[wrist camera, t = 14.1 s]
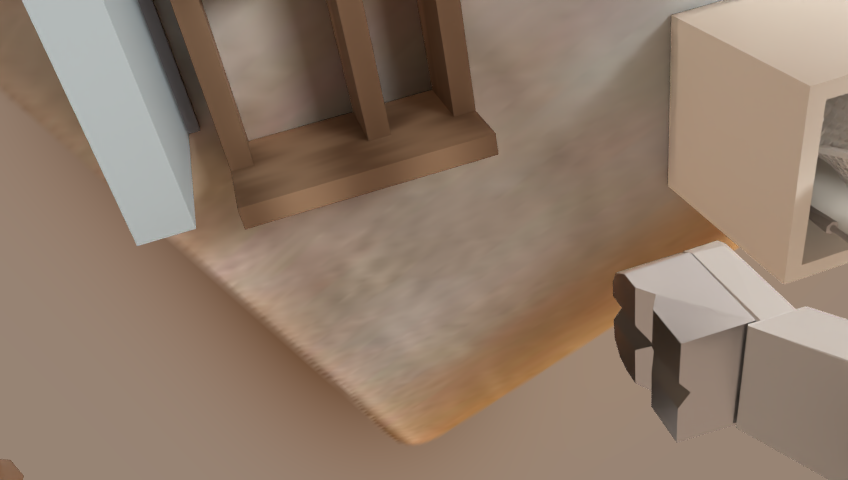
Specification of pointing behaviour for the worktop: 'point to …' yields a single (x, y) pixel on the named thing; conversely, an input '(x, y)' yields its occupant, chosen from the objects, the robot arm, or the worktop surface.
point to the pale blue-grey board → (122, 108)
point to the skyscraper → (833, 154)
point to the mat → (169, 64)
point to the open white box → (760, 126)
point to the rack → (347, 119)
